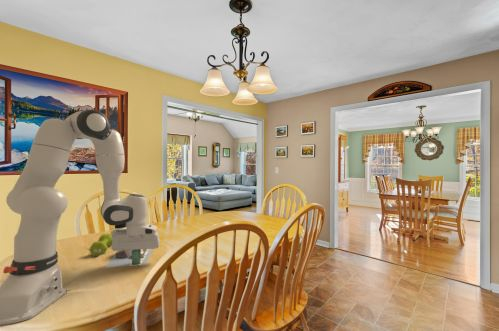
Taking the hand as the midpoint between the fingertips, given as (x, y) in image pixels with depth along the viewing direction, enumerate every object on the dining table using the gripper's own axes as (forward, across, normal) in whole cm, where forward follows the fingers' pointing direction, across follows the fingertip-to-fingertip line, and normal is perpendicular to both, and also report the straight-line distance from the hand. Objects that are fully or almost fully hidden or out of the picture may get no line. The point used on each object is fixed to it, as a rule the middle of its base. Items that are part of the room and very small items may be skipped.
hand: (136, 258), depth 110 cm
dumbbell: (+3, -22, +21) cm, 30 cm away
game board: (+3, -4, +9) cm, 10 cm away
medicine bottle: (+3, -17, +35) cm, 39 cm away
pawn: (+2, 0, 0) cm, 2 cm away
